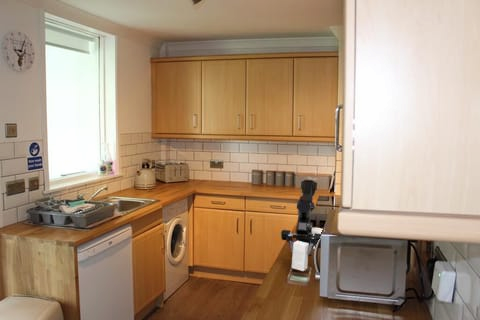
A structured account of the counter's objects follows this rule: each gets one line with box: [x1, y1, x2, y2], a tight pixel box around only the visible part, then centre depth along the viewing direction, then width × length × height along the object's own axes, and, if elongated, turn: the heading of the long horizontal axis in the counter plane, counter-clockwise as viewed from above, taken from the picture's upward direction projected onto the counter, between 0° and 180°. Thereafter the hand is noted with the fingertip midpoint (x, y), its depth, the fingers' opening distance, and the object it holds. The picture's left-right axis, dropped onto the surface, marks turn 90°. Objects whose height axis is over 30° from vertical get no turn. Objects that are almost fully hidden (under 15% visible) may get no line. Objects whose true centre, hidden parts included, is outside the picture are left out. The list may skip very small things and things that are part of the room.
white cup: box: [312, 227, 324, 250], centre depth 236 cm, size 8×8×10 cm
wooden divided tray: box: [286, 265, 313, 287], centre depth 196 cm, size 18×10×2 cm, turn 166°
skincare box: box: [291, 241, 309, 272], centre depth 191 cm, size 6×4×12 cm
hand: (300, 254), depth 189 cm, fingers closed on skincare box, 7 cm apart
